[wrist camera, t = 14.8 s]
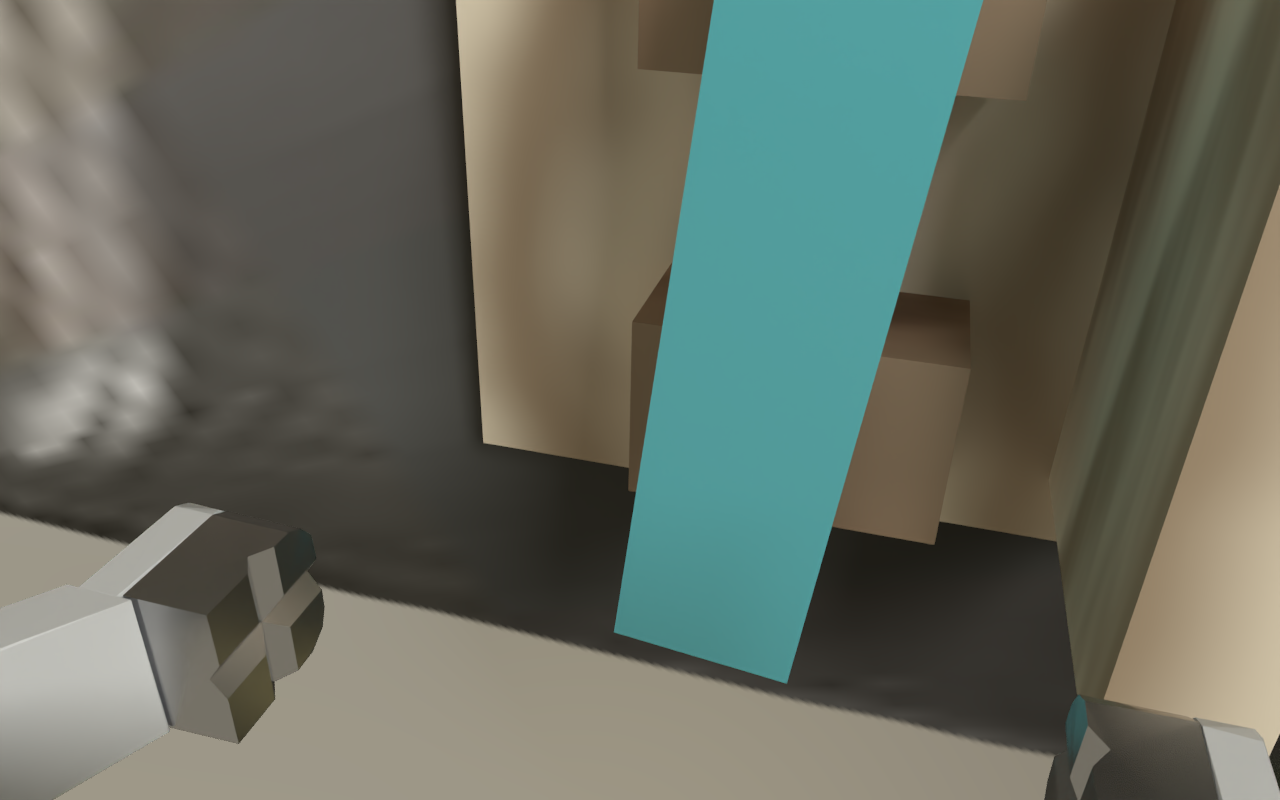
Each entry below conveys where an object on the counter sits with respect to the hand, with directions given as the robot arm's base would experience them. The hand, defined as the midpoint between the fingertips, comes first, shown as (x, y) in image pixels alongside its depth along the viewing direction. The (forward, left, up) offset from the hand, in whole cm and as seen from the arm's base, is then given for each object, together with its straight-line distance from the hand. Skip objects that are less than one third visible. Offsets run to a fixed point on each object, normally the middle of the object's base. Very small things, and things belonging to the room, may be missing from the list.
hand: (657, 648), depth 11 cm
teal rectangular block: (0, +1, -14) cm, 14 cm away
